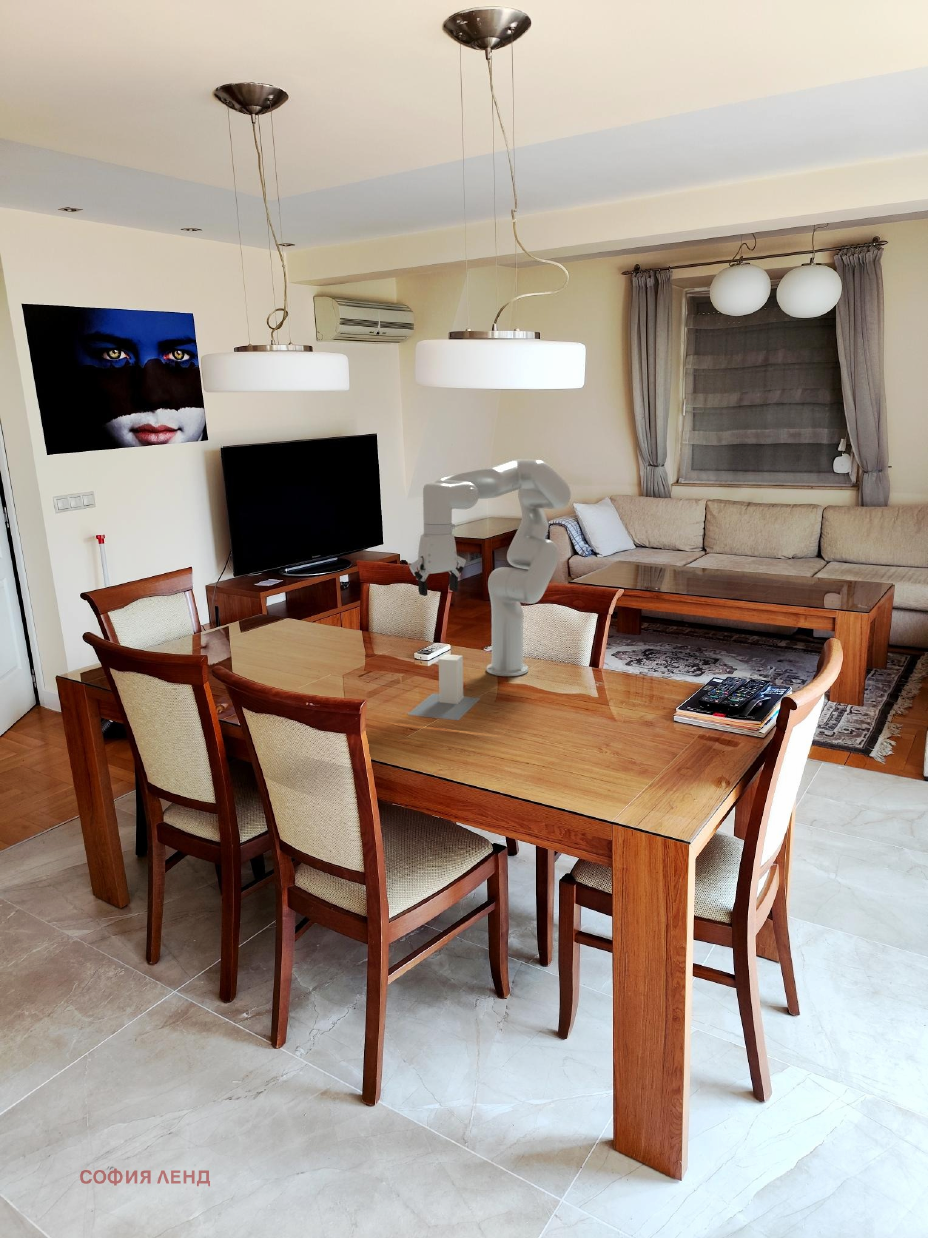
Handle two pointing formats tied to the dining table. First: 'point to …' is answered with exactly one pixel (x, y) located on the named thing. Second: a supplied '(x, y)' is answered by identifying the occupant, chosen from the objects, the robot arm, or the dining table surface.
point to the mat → (443, 708)
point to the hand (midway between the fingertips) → (438, 593)
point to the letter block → (451, 679)
